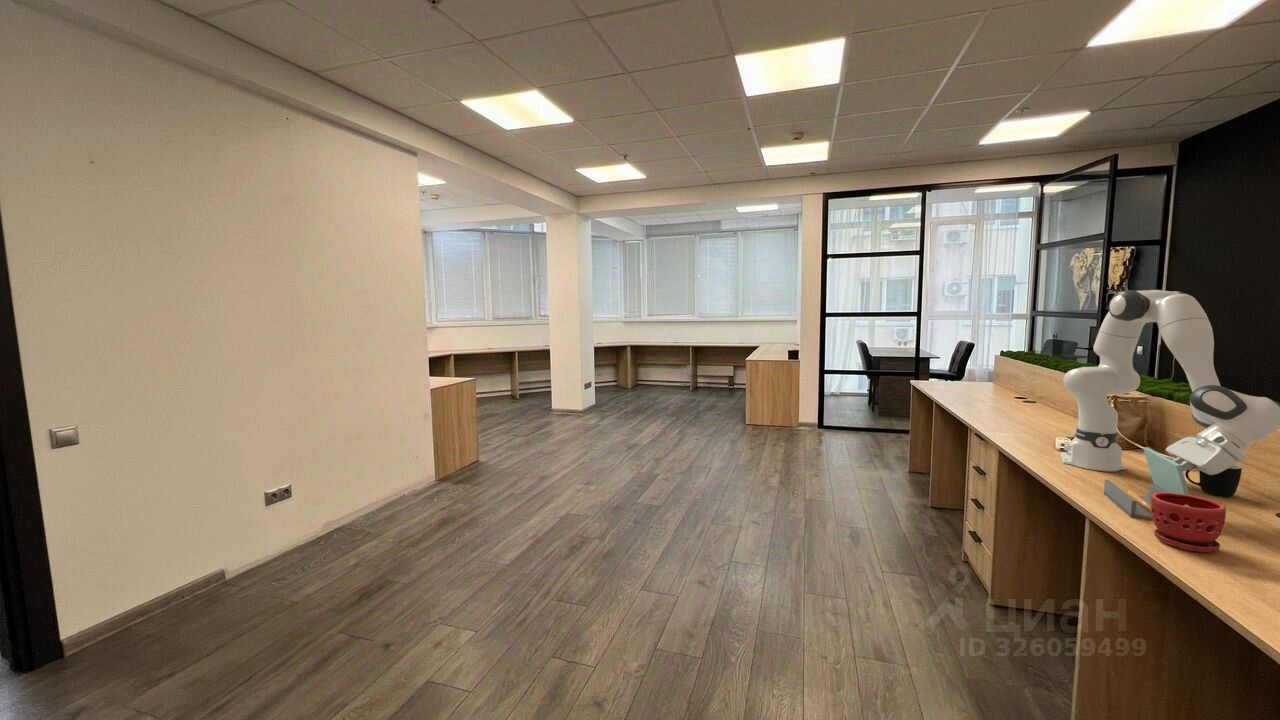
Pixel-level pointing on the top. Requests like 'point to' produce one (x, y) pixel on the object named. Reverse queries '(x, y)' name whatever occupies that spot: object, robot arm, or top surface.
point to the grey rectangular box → (1131, 500)
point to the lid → (1166, 473)
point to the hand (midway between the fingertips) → (1170, 471)
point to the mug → (1219, 481)
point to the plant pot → (1187, 521)
